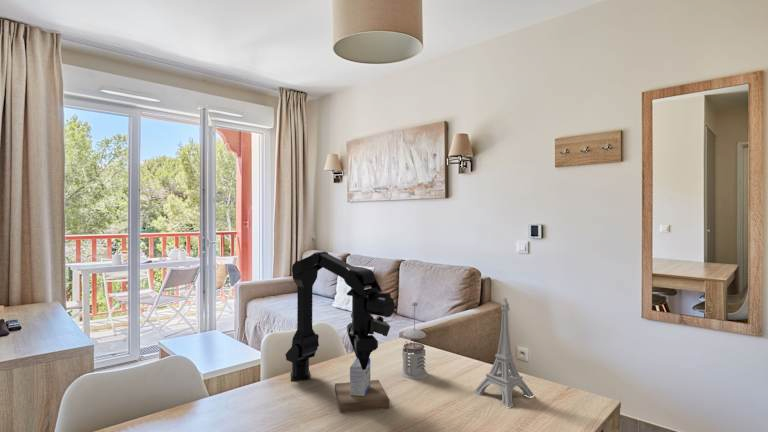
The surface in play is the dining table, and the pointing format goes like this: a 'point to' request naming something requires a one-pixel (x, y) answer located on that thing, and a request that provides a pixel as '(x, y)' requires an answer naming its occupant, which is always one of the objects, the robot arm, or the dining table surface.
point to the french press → (417, 358)
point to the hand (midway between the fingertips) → (361, 363)
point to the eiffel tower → (504, 366)
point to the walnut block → (361, 397)
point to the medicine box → (359, 379)
